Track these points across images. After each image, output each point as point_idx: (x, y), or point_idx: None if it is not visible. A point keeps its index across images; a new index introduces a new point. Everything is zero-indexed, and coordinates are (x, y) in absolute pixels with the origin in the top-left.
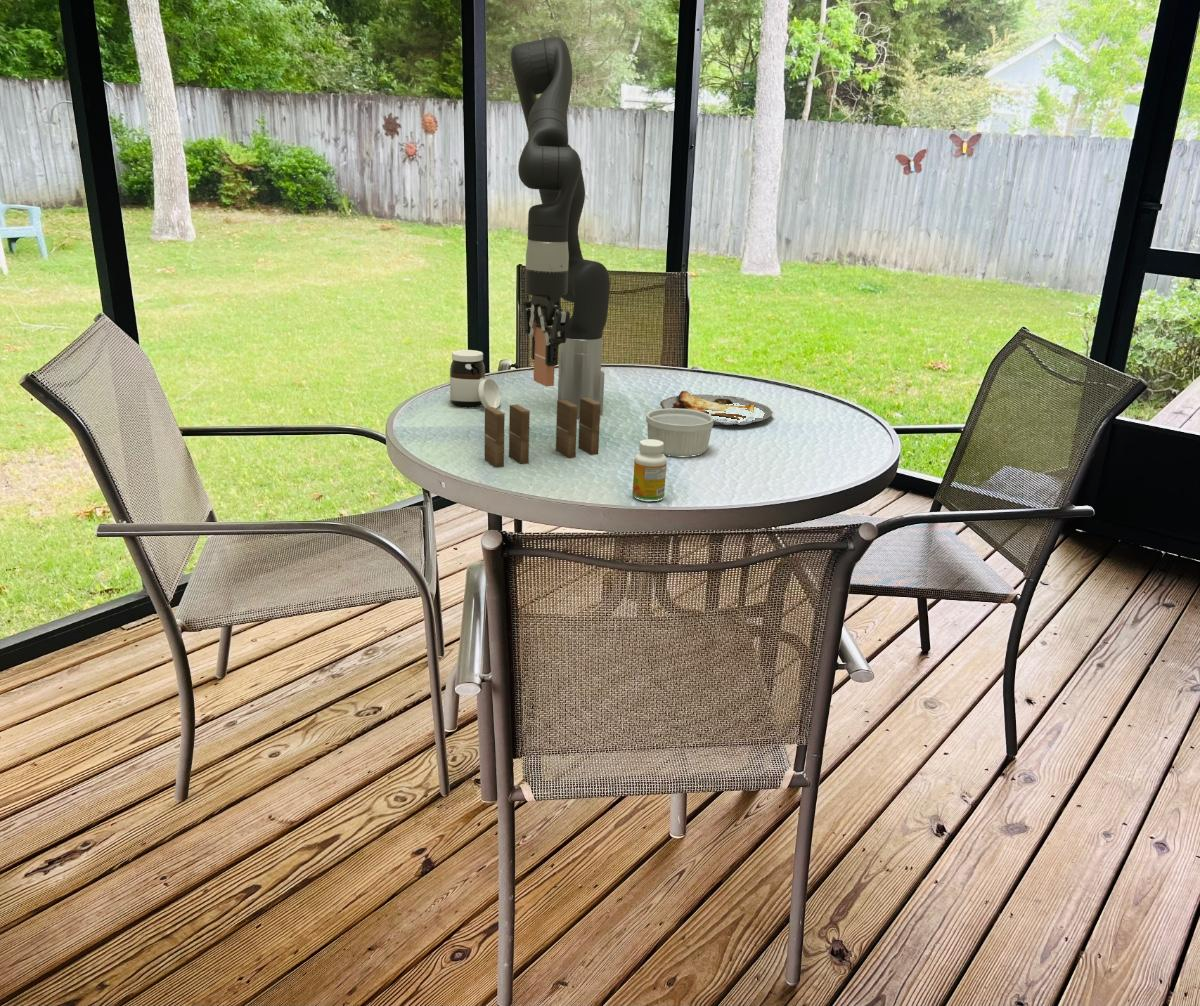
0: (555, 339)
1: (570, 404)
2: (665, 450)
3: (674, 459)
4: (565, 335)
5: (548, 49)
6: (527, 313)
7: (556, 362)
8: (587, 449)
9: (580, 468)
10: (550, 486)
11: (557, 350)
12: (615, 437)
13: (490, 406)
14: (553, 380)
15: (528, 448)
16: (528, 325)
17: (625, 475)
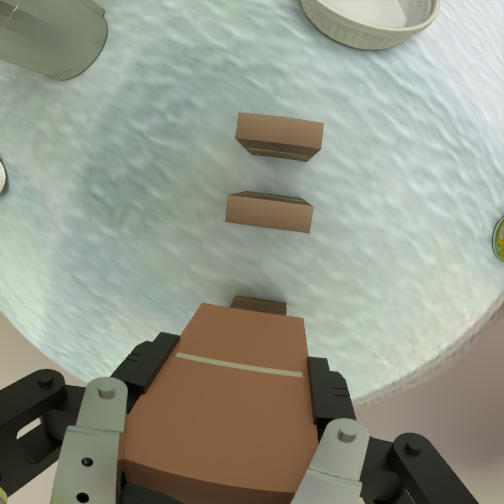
0: (404, 494)
1: (287, 215)
2: (388, 47)
3: (402, 51)
4: (444, 471)
5: None
6: (9, 491)
7: (338, 376)
8: (291, 158)
9: (364, 236)
10: (400, 336)
11: (353, 415)
12: (228, 46)
13: (3, 184)
14: (303, 328)
15: (285, 315)
16: (56, 457)
17: (434, 192)
